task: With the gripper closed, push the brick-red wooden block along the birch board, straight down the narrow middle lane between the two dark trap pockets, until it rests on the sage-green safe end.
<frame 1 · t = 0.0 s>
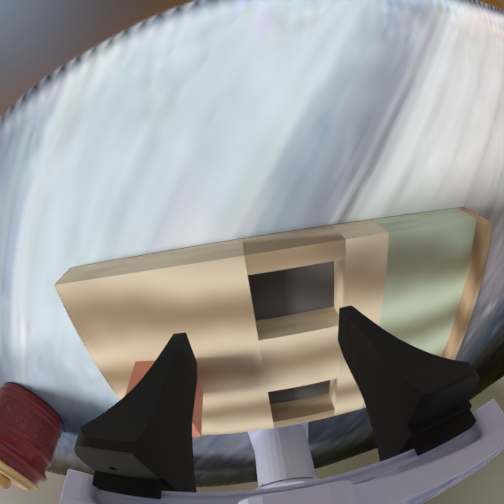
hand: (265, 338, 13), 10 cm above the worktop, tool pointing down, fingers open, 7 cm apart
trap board: (286, 341, 26), on the worktop
block: (170, 378, 23), point 3 cm above the worktop, touching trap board
canister: (32, 406, 31), on the worktop
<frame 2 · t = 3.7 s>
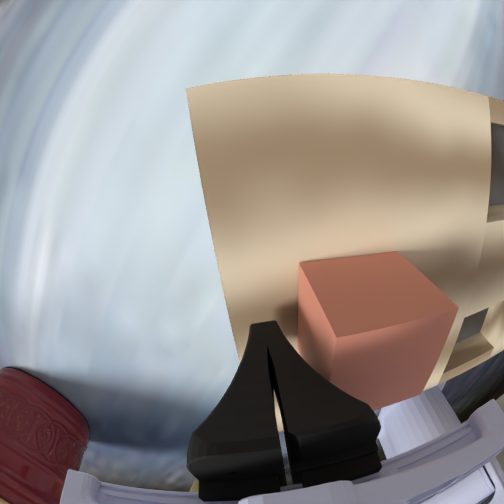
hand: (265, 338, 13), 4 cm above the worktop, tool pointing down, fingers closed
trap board: (472, 249, 17), on the worktop
block: (346, 302, 14), point 3 cm above the worktop, touching gripper
canister: (42, 404, 21), on the worktop
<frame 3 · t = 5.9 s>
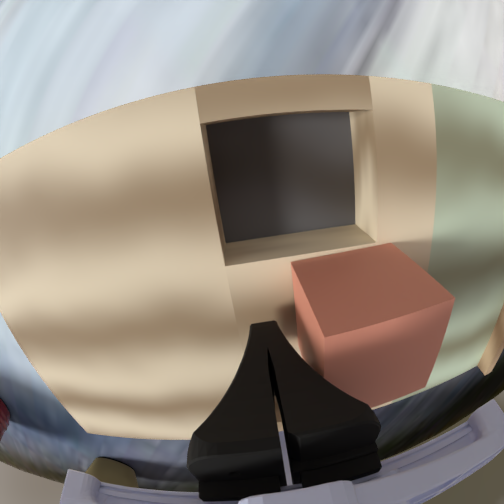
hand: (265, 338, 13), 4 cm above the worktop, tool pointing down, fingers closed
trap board: (279, 289, 17), on the worktop
block: (344, 297, 13), point 3 cm above the worktop, touching gripper
squeeze bottle: (115, 464, 27), on the worktop
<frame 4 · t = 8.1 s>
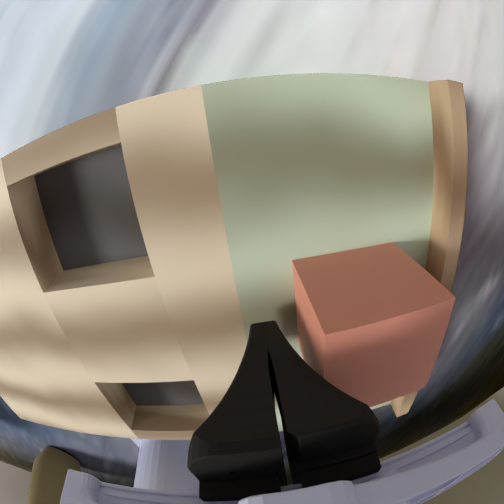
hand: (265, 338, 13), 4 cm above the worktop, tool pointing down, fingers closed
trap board: (117, 311, 16), on the worktop
block: (344, 296, 13), point 3 cm above the worktop, touching gripper, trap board
squeeze bottle: (63, 454, 27), on the worktop
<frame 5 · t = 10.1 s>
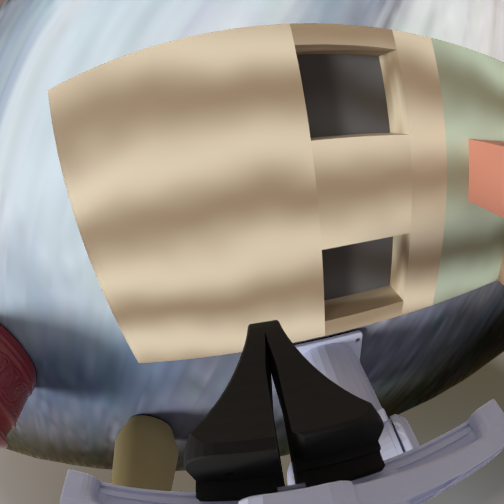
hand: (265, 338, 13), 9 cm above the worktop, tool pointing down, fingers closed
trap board: (338, 183, 20), on the worktop
block: (486, 169, 17), point 3 cm above the worktop, touching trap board
canister: (3, 350, 25), on the worktop
squeeze bottle: (150, 424, 31), on the worktop
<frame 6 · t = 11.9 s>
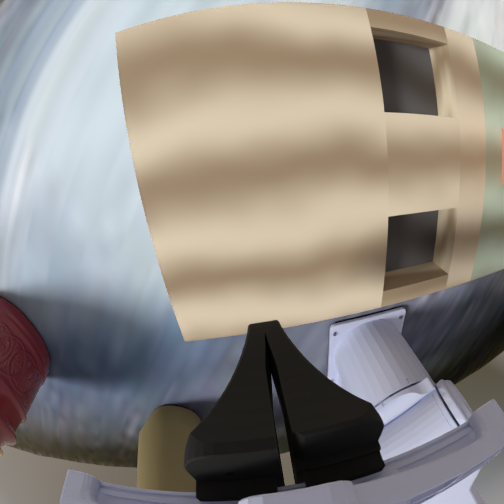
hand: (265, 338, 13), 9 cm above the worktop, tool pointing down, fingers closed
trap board: (395, 158, 19), on the worktop
canister: (12, 335, 24), on the worktop
squeeze bottle: (176, 415, 30), on the worktop
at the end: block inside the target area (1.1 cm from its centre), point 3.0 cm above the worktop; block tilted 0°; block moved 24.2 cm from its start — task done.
